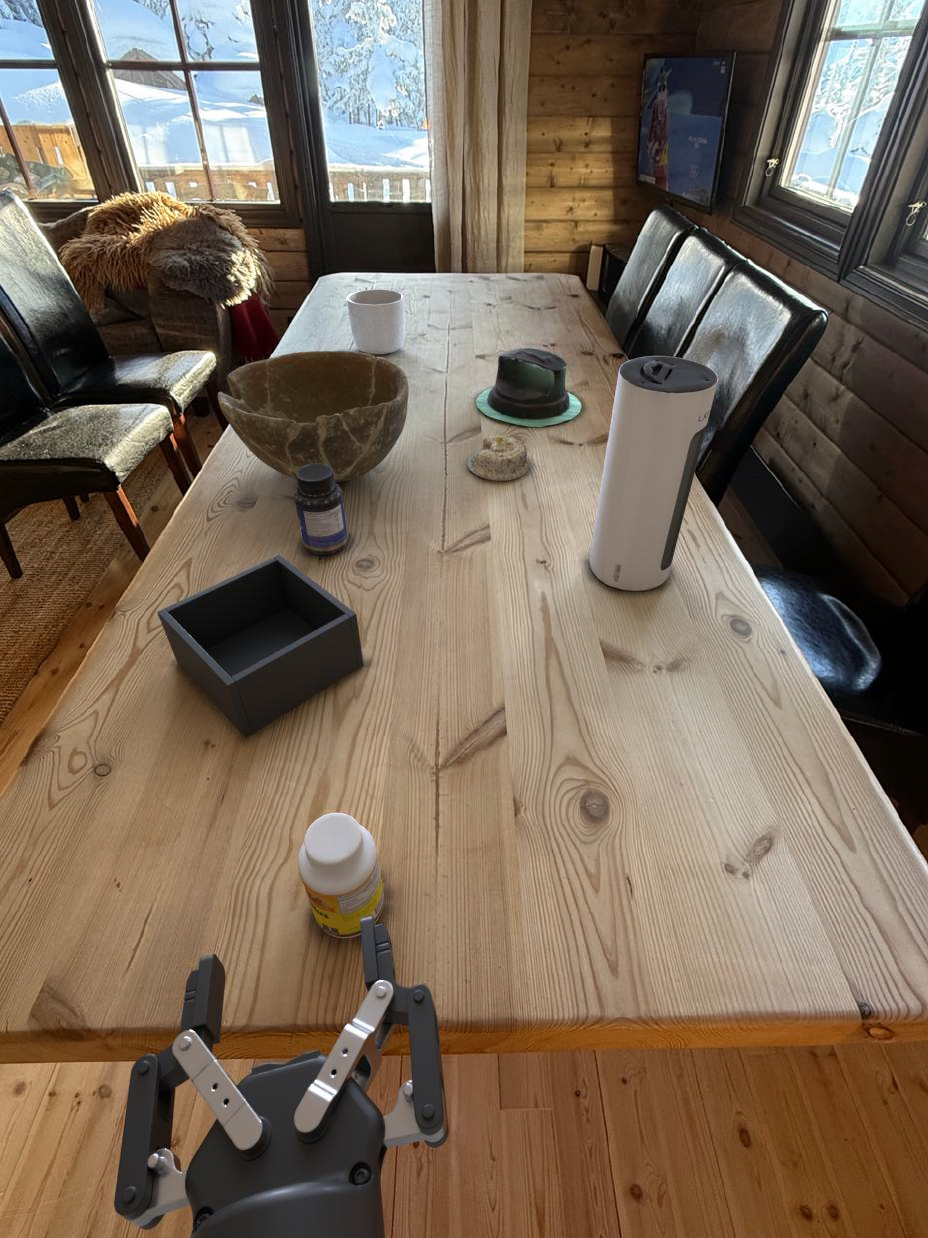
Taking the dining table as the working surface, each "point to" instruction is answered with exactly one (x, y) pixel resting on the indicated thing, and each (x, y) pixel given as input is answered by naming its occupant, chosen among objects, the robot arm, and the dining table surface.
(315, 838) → the supplement bottle
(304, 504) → the pill bottle
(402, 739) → the dining table surface
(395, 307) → the planter
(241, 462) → the dining table surface
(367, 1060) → the robot arm
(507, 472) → the cake
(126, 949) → the dining table surface
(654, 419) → the speaker
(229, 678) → the open storage box
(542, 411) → the fedora hat
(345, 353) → the bowl
